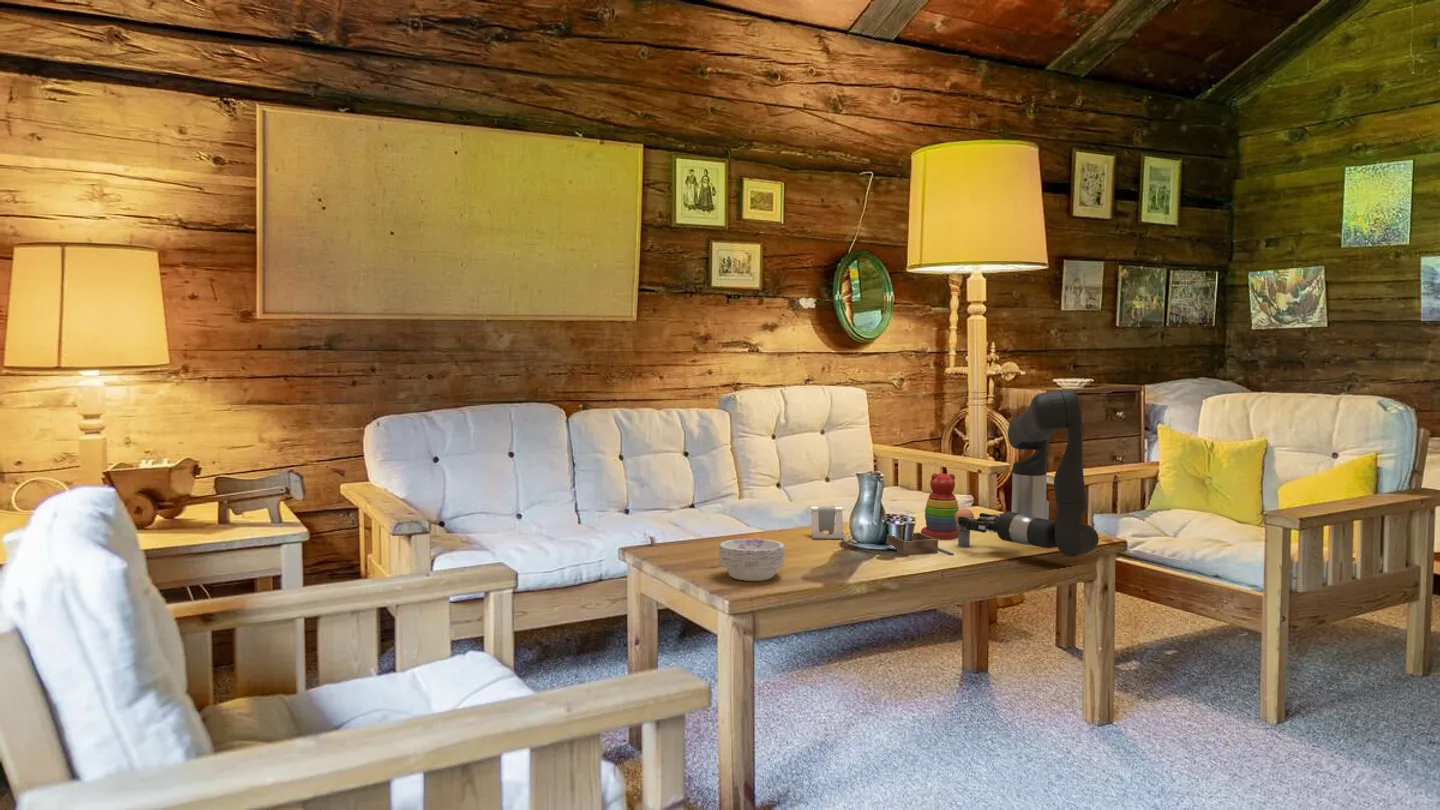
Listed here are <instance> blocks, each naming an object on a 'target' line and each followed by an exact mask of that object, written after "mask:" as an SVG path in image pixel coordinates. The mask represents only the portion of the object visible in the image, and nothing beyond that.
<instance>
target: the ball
mask: <svg viewBox="0 0 1440 810" xmlns="http://www.w3.org/2000/svg"><path fill="white" fill-rule="evenodd" d="M961 516H962V517H967V518H974V519H975V515H974V513H973V511H972V510H971V509H969V508H965V507H963V508H962V507H961V508H959V510H958V511H957V512H956V514H955V521H956V523H957V525H959V524H958V517H961ZM960 526H962V525H960ZM962 527H966V526H962Z"/></svg>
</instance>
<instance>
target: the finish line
mask: <svg viewBox="0 0 1440 810" xmlns="http://www.w3.org/2000/svg"><path fill="white" fill-rule="evenodd" d="M938 552H941V553H943V554H946V555H949V556H953V555H955V553H953V552H950V551H948V550H946V549H943V548H941V547H938Z"/></svg>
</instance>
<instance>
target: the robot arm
mask: <svg viewBox="0 0 1440 810" xmlns="http://www.w3.org/2000/svg"><path fill="white" fill-rule="evenodd" d="M1064 429H1067V435H1068V436H1067V444H1066V447H1065V450H1064V453H1063V454H1062V457H1061V459H1060V462H1059V464H1058V466H1057V468H1056V470H1055V474H1054V477H1053V478H1054V479H1053V490H1054V497H1055V498H1054V499H1055V503H1056V515H1055V520H1051V519H1049V516H1050V515H1049V510H1050V507H1049V506H1050V501H1049V500H1047V477H1048V476H1047V474H1048V473H1047V470H1048V450H1049V439H1050V438H1051V437H1052V436H1053V435H1054V434H1055V433H1056V432H1057V431H1058V430H1064ZM1083 436H1084V435H1083V415H1082V406H1081V401H1080V398H1079V396H1078V393H1077V392H1076V391H1075V390H1074V389H1061V390H1054V391H1053V390H1052V391H1048V392H1047V391H1046V392H1041V393H1038V394H1036V395H1035V396H1033V398H1032V400H1031V402H1030V404H1029V407H1028V408H1027V409H1025V410H1024V411H1023V412H1022V414H1020V415H1019V416H1015V417H1013V418H1012V419H1011V421H1010V423H1009V424H1008V428H1007V440H1008V442H1009V445H1010V446H1011V447H1012V448H1013V449H1016V450H1029V451H1030V450H1033V451H1034V452H1033V453H1032V455H1030V456H1028V457H1026V458H1025V459H1024V458H1023V459H1022V460H1018V461H1015V462H1014V463H1013V464H1012V482H1011V483H1012V484H1011V485H1012V486H1011V489H1012V490H1011V511H1004V512H1003V513H998V514H996V513H993V514H989V513H985V512H984V513H983V512H980V513H979V514H978V515H979V516H978V517H977V518H975V517H974V518H967V517H962V516H961V517H958V524H959V525H962V526H966V529H967V530H970V531H972V532H973V531H974V532H979V533H983V534H985V533H987V532H989V533H992V534H993V533H996V534H997V536H998V538H999V539H1000V540H1001V541H1005V542H1008V543H1009V542H1010V543H1014V544H1019V545H1024V546H1034V547H1039V548H1043V549H1054V548H1057V549H1058V551H1059V552H1060V553H1061V554H1062V555H1063V556H1065V557H1069V558H1070V557H1077V556H1079V555H1083V554H1087V553H1089V552H1092V551H1093V550H1095V549H1096V548H1097V547H1098V545H1099V542H1100V538H1099V535H1098V532H1097V531H1096V529H1095V528H1094V527H1093V526H1091V525H1089V524H1087V523H1084V522H1081V517H1082V516H1083V515H1084V514H1086V512H1087V511H1088V500H1087V493H1086V492H1087V491H1086V487H1085V485H1086V484H1085V478H1084V476H1085V475H1084V460H1083V459H1084V458H1083V457H1084V445H1083V443H1084V441H1083V440H1084V439H1083V438H1084V437H1083ZM958 524H957V525H958Z"/></svg>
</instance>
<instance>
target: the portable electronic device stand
mask: <svg viewBox="0 0 1440 810" xmlns="http://www.w3.org/2000/svg"><path fill="white" fill-rule="evenodd" d="M810 515H811V539H812V540H840V539H841V540H844V539H845V532H844V522H843V521H844V520H843V518H844V517H843V506H841V505H840V506H835V505H832V506H830V505H828V506H827V505H824V506H823V505H821V506H820V505H815V506H814V505H812V506H811V505H810ZM825 532H828V534H825ZM843 538H844V539H843Z"/></svg>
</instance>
